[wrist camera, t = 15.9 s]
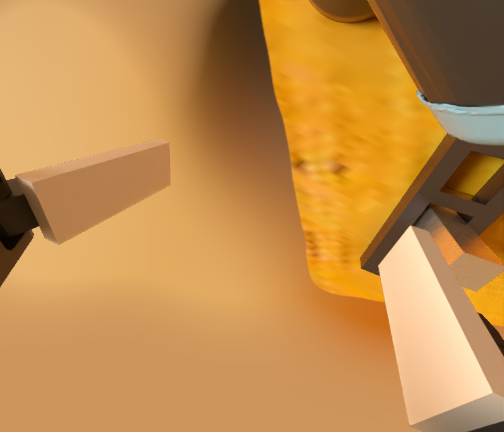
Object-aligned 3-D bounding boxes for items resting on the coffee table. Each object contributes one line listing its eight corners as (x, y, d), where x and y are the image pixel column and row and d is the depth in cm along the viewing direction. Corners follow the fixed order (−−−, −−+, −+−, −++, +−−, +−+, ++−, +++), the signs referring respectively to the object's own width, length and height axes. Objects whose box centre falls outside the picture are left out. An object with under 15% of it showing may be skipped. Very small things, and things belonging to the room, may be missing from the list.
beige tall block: (425, 200, 32) (463, 252, 22) (453, 209, 32) (507, 267, 21) (409, 221, 35) (437, 276, 24) (435, 229, 34) (476, 291, 23)
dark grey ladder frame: (453, 123, 27) (464, 126, 25) (546, 146, 25) (567, 152, 23) (360, 258, 41) (361, 268, 39) (414, 279, 39) (419, 291, 37)
